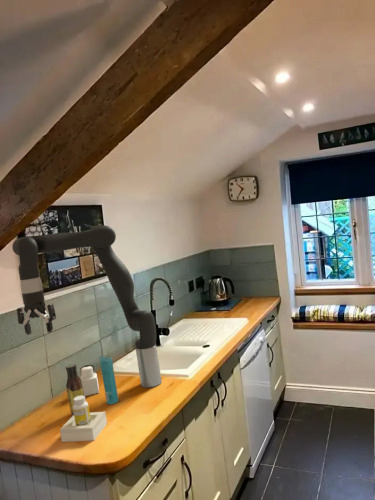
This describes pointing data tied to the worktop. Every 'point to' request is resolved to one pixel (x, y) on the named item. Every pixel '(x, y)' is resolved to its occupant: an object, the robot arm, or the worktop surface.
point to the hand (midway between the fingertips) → (39, 333)
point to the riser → (83, 428)
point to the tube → (109, 379)
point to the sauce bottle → (73, 385)
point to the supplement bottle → (81, 411)
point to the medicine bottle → (89, 380)
